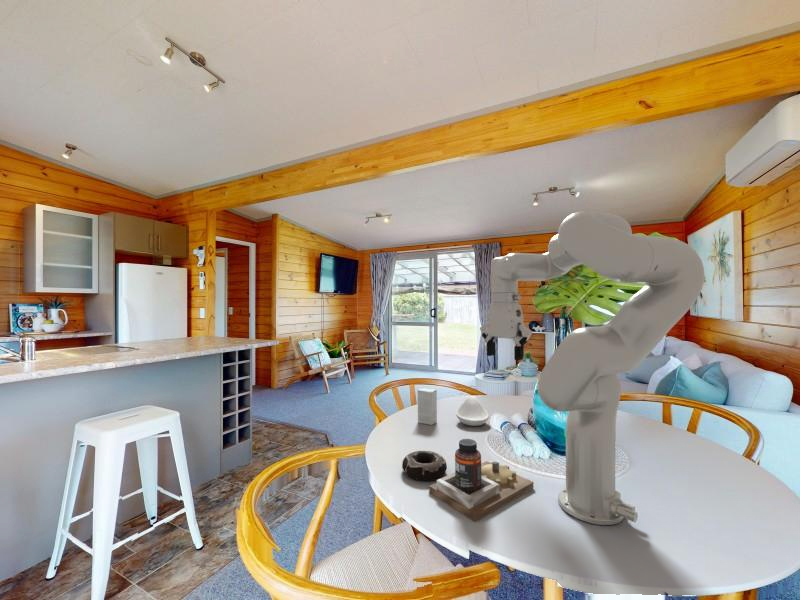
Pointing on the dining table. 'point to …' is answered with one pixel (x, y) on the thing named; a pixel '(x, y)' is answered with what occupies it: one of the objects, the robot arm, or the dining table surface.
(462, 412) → the spoon rest
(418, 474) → the donut
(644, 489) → the dining table surface
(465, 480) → the supplement bottle
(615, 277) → the robot arm
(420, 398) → the skincare box
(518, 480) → the gear board
